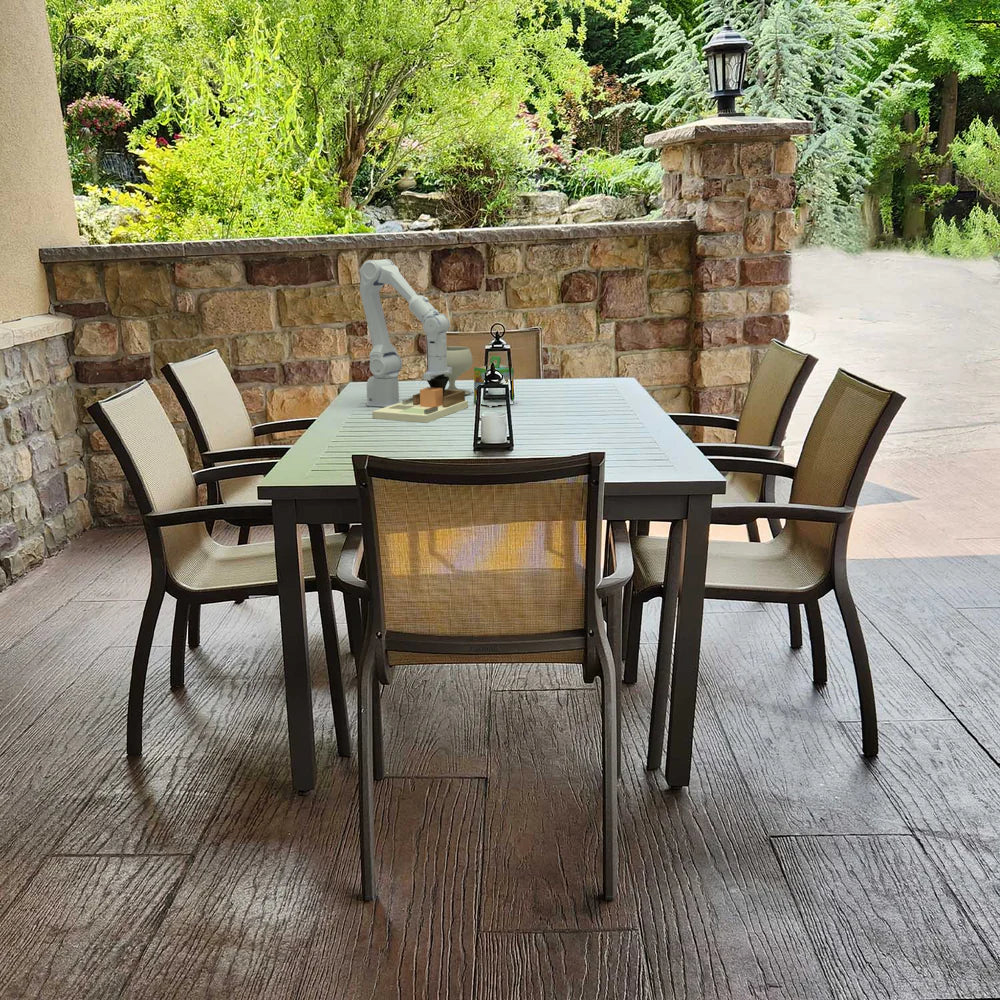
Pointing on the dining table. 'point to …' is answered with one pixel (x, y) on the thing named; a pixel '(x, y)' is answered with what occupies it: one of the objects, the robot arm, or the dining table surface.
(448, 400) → the cubby
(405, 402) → the long grey rectangular bar
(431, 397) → the cube
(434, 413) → the deck
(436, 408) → the short rod
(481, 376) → the chalk box
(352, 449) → the dining table surface
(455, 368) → the chalice
